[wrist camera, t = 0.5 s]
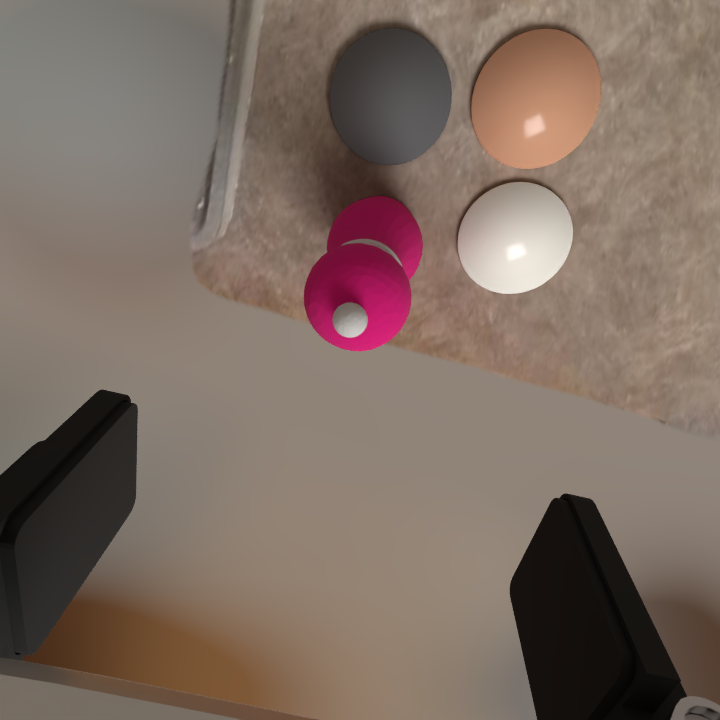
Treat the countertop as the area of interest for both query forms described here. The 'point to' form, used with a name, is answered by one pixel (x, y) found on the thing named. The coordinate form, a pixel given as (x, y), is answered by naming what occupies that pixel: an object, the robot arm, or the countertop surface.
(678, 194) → the countertop surface
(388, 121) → the dark gray oval dome
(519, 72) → the peach oval dome
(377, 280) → the pepper mill
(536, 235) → the cream oval dome
